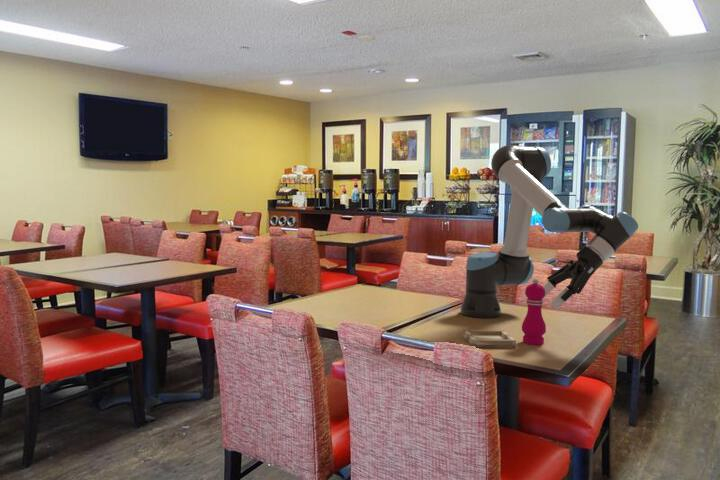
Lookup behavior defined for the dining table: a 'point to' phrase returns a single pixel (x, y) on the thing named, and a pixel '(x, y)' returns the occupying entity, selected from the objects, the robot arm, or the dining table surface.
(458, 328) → the dining table surface
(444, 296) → the dining table surface
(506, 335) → the tray
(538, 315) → the pepper mill
